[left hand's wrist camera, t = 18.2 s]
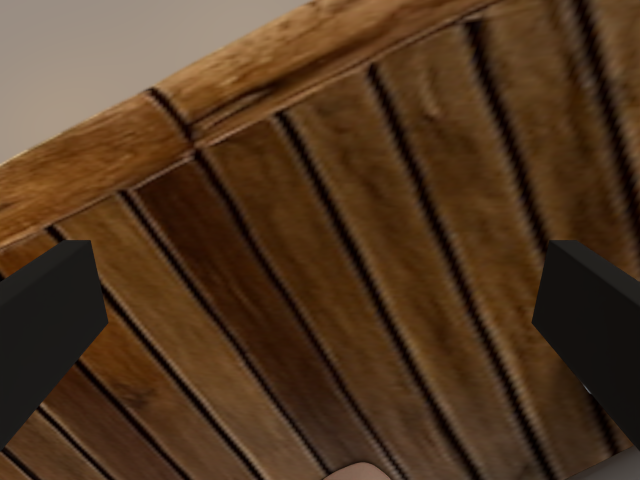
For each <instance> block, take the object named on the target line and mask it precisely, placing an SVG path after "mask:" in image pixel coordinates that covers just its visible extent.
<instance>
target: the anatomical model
mask: <svg viewBox="0 0 640 480" xmlns="http://www.w3.org/2000/svg"><path fill="white" fill-rule="evenodd" d="M323 480H391V479H390V478H389V477H388V476H387V475H386V474H385V473H383V472H382V471H381V470H380V469H378V468H377V467H375V466H374V465H372V464H369V463H365V462H361V463H356V464H353V465H350V466H347V467H345V468H343V469H340V470H338V471H336V472H334V473H332V474H331V475H329V476H327V477H326V478H324V479H323Z"/></svg>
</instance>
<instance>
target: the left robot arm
mask: <svg viewBox="0 0 640 480" xmlns="http://www.w3.org/2000/svg"><path fill="white" fill-rule="evenodd" d="M107 324H108V318H107V314H106V309H105V305H104V300H103V295H102V291H101V286H100V282H99V277H98V272H97V268H96V263H95V259H94V254H93V250H92V245H91V240H63V241H62V242H60V243H59V244H57V245H56V246H54V247H53V248H51V249H50V250H48V251H47V252H45V253H44V254H42V255H41V256H39V257H38V258H36V259H35V260H33V261H32V262H30V263H29V264H27V265H26V266H24V267H23V268H21V269H19V270H18V271H16V272H15V273H13V274H12V275H10V276H9V277H7V278H6V279H4V280H3V281H1V282H0V451H1V450H2V449H3V448H4V446H5V445H6V444H7V443H8V442H9V441H10V439H11V438H12V437H13V436H14V435H15V433H16V432H17V431H18V430H19V429H20V427H21V426H22V425H23V424H24V423H25V422H26V420H27V419H28V418H29V417H30V416H31V414H32V413H33V412H34V411H35V410H36V408H37V407H38V406H39V405H40V404H41V402H42V401H43V400H44V399H45V398H46V397H47V395H48V394H49V393H50V392H51V391H52V389H53V388H54V387H55V386H56V385H57V383H58V382H59V381H60V380H61V379H62V377H63V376H64V375H65V374H66V373H67V372H68V370H69V369H70V368H71V367H72V366H73V364H74V363H75V362H76V361H77V360H78V358H79V357H80V356H81V355H82V354H83V352H84V351H85V350H86V349H87V348H88V347H89V345H90V344H91V343H92V342H93V341H94V339H95V338H96V337H97V336H98V335H99V333H100V332H101V331H102V330H103V329H104V327H105V326H106V325H107ZM532 324H533V325H534V326H535V327H536V329H537V330H538V331H539V332H540V333H541V335H542V336H543V337H544V338H545V339H546V341H547V342H548V343H549V344H550V345H551V347H552V348H553V349H554V350H555V351H556V352H557V354H558V355H559V356H560V357H561V358H562V360H563V361H564V362H565V363H566V364H567V366H568V367H569V368H570V369H571V370H572V372H573V373H574V374H575V375H576V376H577V378H578V379H579V381H580V382H581V383H582V384H583V386H584V387H585V388H586V389H587V390H588V391H589V392H590V393H591V394H592V395H593V397H594V398H595V399H596V400H597V401H598V402H599V404H600V405H601V406H602V407H603V408H604V410H605V411H606V412H607V413H608V414H609V416H610V417H611V418H612V419H613V420H614V422H615V423H616V424H617V425H618V426H619V427H620V429H621V430H622V431H623V432H624V433H625V435H626V436H627V437H628V438H629V439H630V441H631V442H632V443H633V444H634V446H632V447H630V448H628V449H626V450H624V451H622V452H620V453H618V454H616V455H614V456H612V457H610V458H608V459H606V460H604V461H602V462H600V463H598V464H596V465H594V466H592V467H590V468H588V469H586V470H584V471H582V472H580V473H578V474H575V475H573V476H571V477H569V478H567V479H565V480H640V282H639V281H637V280H636V279H634V278H633V277H631V276H630V275H628V274H627V273H625V272H624V271H622V270H621V269H619V268H617V267H616V266H614V265H613V264H611V263H610V262H608V261H607V260H605V259H604V258H602V257H601V256H599V255H598V254H596V253H595V252H593V251H592V250H590V249H589V248H587V247H586V246H584V245H583V244H581V243H580V242H578V241H577V240H549V245H548V250H547V254H546V259H545V263H544V268H543V272H542V277H541V282H540V286H539V291H538V295H537V300H536V305H535V309H534V314H533V318H532Z"/></svg>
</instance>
